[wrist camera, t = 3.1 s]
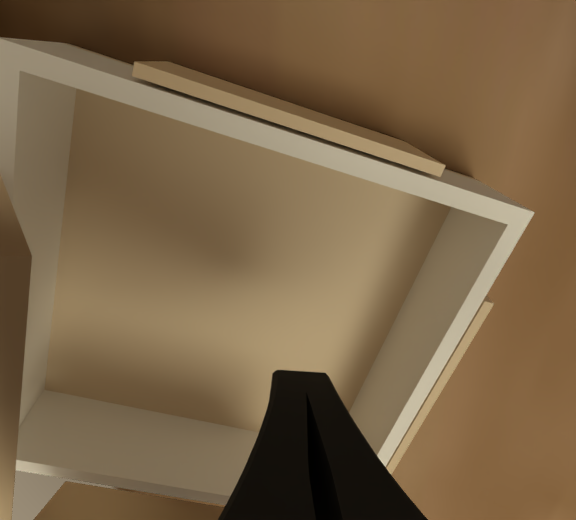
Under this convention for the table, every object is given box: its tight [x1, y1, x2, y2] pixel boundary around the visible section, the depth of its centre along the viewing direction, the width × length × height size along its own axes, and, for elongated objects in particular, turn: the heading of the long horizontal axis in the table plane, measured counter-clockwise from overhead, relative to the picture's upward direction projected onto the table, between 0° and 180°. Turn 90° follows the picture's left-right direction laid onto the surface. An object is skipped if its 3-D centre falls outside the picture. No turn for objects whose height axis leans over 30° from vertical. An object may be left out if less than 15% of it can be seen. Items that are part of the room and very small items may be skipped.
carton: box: [0, 37, 535, 505], centre depth 14 cm, size 13×13×4 cm
